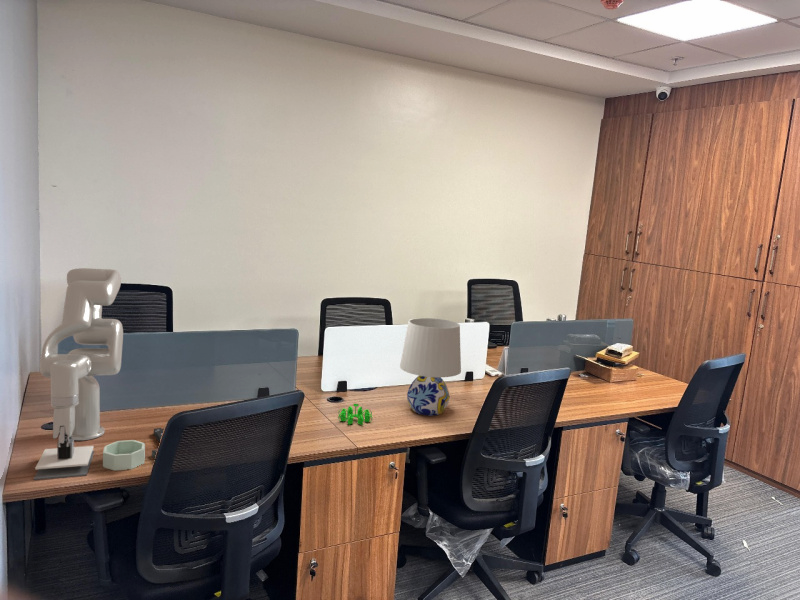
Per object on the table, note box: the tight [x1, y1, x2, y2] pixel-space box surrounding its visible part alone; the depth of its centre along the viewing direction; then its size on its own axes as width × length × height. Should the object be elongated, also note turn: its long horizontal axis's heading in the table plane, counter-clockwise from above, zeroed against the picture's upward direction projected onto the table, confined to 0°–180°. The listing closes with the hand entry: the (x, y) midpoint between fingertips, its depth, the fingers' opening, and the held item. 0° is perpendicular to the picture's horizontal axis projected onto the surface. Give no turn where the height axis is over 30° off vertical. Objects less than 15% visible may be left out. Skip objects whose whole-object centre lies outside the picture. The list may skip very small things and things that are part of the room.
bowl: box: [102, 439, 146, 472], centre depth 192 cm, size 12×12×5 cm
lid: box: [34, 438, 94, 470], centre depth 186 cm, size 14×14×6 cm
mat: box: [33, 450, 95, 481], centre depth 187 cm, size 18×14×1 cm
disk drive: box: [153, 427, 164, 443], centre depth 213 cm, size 10×3×15 cm
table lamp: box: [399, 317, 462, 417], centre depth 261 cm, size 27×27×40 cm
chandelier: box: [338, 403, 373, 426], centre depth 245 cm, size 15×15×7 cm
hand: (65, 454), depth 186 cm, fingers closed on lid, 3 cm apart
